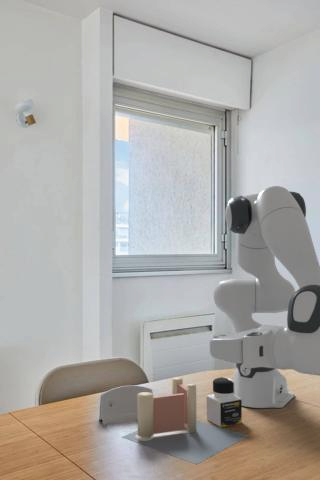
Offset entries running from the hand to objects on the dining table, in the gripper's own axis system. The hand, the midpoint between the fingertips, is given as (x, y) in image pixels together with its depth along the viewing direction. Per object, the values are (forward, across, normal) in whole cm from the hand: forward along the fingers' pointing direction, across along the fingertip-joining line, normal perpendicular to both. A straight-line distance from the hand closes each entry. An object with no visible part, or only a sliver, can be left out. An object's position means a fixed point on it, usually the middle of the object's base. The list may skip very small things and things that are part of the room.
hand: (217, 338), depth 111 cm
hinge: (+35, -5, +28) cm, 45 cm away
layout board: (+13, -4, +27) cm, 30 cm away
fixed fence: (+19, -11, +27) cm, 35 cm away
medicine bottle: (+12, -20, +28) cm, 36 cm away
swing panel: (+18, 0, +26) cm, 31 cm away
